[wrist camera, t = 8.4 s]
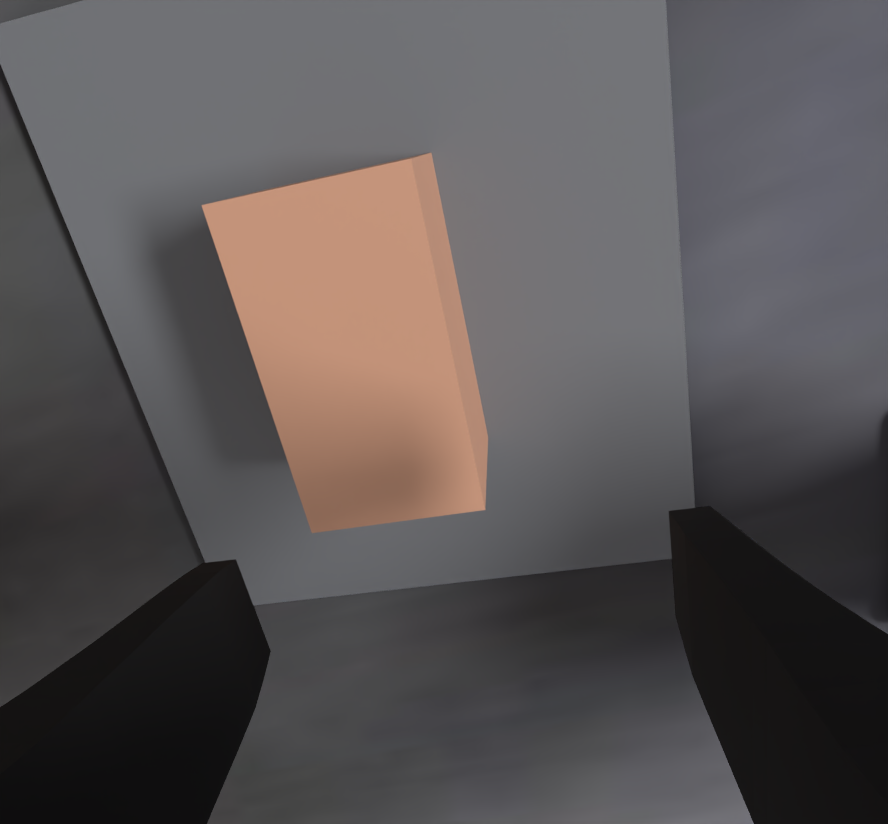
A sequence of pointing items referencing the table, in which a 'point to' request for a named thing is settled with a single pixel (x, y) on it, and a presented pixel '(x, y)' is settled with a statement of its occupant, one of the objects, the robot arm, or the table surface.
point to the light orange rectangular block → (359, 342)
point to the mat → (470, 237)
